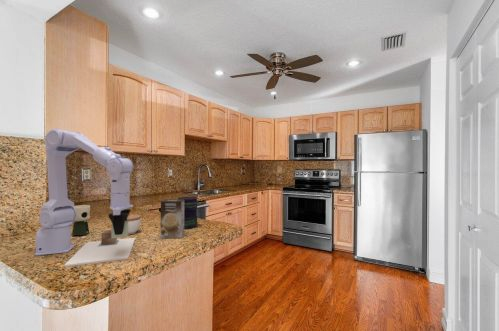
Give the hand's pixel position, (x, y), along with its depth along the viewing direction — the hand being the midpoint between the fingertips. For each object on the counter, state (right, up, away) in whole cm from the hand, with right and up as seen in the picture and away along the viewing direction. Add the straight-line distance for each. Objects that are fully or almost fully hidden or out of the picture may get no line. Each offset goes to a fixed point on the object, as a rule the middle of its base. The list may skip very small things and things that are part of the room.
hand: (120, 232), depth 81 cm
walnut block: (-11, -8, +12) cm, 18 cm away
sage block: (0, -1, 0) cm, 1 cm away
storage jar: (+13, -9, +40) cm, 43 cm away
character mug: (-32, -9, +26) cm, 42 cm away
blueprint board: (-8, -8, +5) cm, 12 cm away
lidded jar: (-12, -9, +29) cm, 32 cm away
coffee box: (+11, -9, +23) cm, 27 cm away
